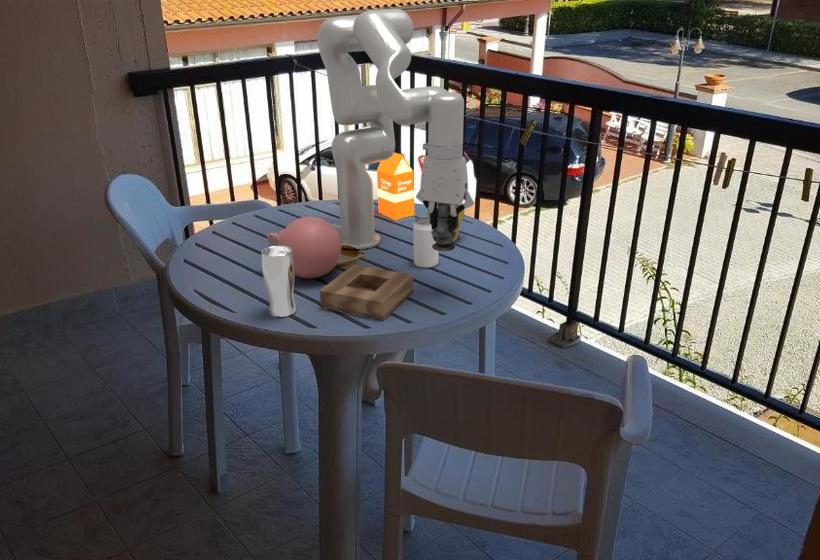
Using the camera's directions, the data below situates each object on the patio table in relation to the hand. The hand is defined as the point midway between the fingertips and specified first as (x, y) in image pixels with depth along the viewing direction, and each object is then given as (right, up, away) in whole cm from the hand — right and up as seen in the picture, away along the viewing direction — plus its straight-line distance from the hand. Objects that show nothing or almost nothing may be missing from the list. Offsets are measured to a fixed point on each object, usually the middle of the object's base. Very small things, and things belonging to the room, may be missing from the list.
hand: (443, 228), depth 158 cm
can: (-4, -8, +22) cm, 24 cm away
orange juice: (-12, +8, +58) cm, 59 cm away
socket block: (-18, -17, +3) cm, 24 cm away
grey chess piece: (0, -4, +2) cm, 5 cm away
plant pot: (+2, 0, +38) cm, 39 cm away
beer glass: (-37, -19, -2) cm, 41 cm away
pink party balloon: (-35, -11, +17) cm, 40 cm away
